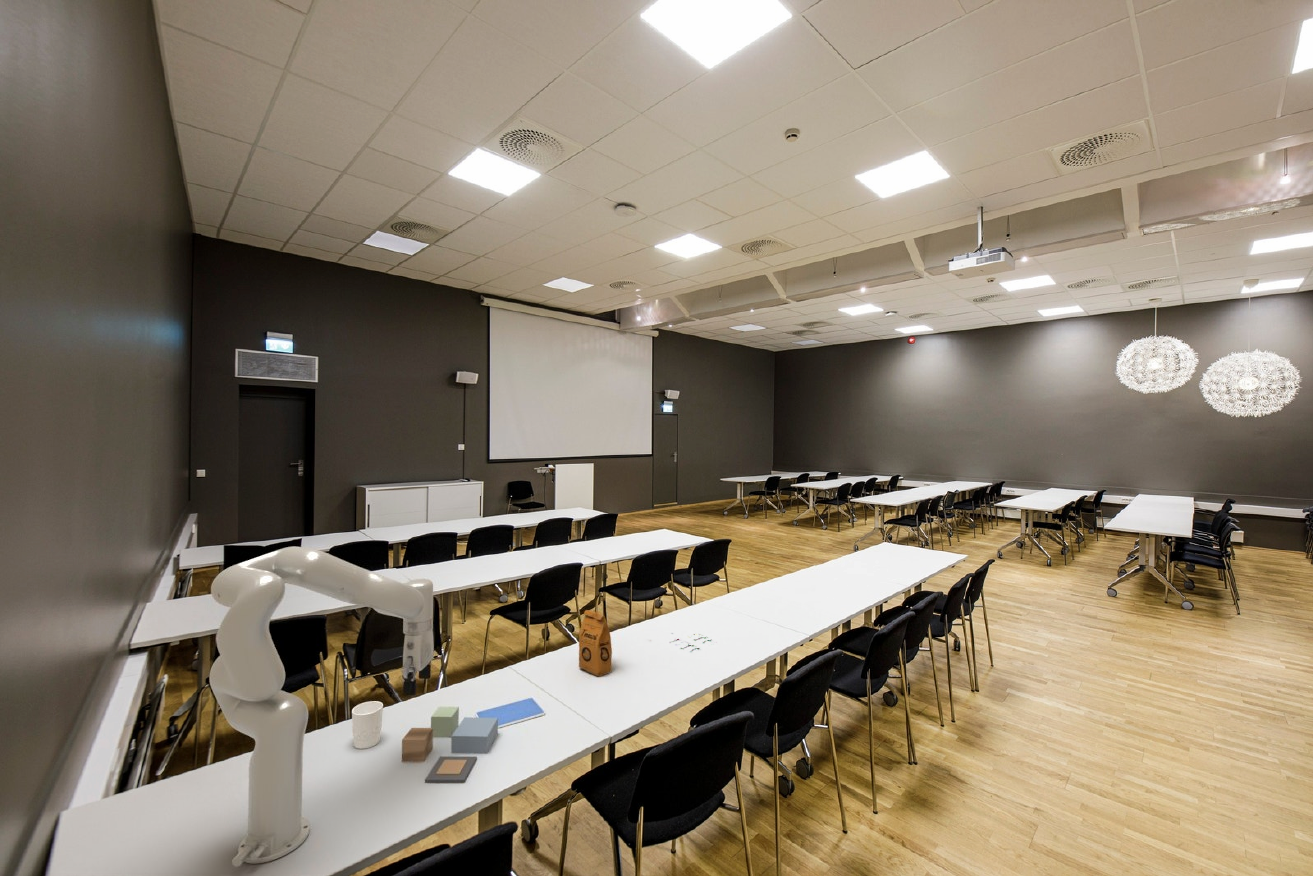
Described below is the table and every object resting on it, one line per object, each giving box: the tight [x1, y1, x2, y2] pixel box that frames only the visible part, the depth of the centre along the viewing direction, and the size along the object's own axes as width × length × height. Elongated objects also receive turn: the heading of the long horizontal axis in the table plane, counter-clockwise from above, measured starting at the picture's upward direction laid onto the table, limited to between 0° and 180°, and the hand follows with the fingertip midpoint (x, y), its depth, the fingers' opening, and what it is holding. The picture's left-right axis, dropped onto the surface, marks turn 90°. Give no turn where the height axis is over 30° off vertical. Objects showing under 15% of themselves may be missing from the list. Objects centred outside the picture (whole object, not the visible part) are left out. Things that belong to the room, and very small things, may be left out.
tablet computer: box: [474, 697, 546, 729], centre depth 170 cm, size 19×13×1 cm, turn 123°
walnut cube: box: [401, 727, 434, 763], centre depth 148 cm, size 6×6×6 cm
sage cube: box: [430, 706, 460, 738], centre depth 160 cm, size 6×6×6 cm
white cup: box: [351, 700, 384, 750], centre depth 154 cm, size 8×8×10 cm
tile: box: [424, 755, 478, 784], centre depth 141 cm, size 10×10×1 cm
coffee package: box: [578, 609, 613, 678], centre depth 204 cm, size 10×12×22 cm
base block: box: [450, 716, 499, 755], centre depth 154 cm, size 10×10×5 cm
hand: (417, 686), depth 149 cm, fingers open, 9 cm apart
